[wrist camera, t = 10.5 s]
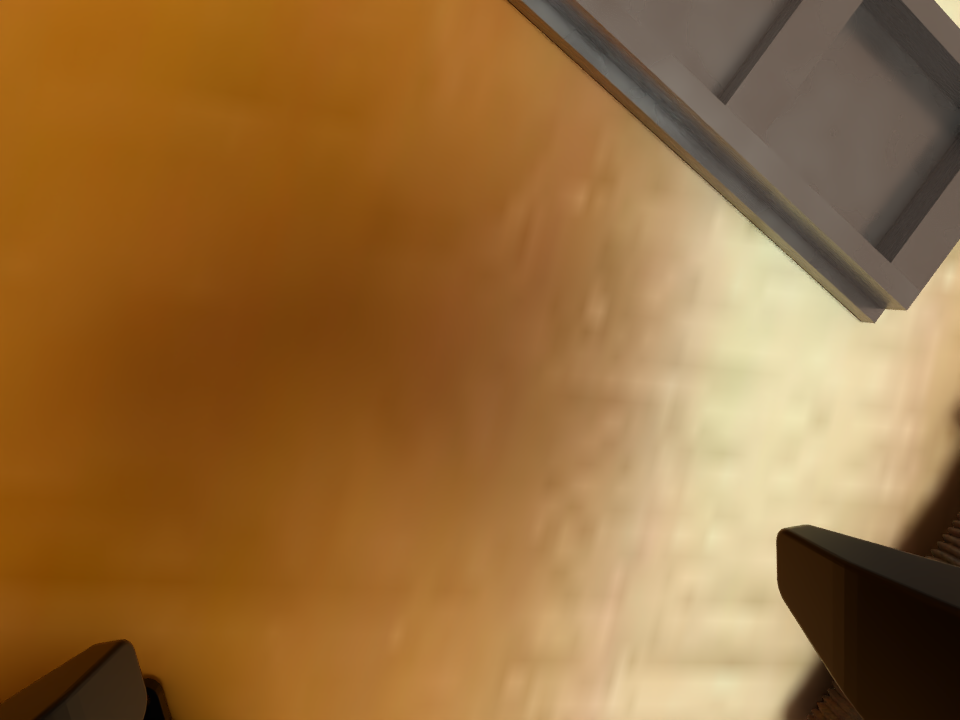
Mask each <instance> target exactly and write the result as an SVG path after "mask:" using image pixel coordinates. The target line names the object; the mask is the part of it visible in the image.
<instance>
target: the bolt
mask: <svg viewBox="0 0 960 720" xmlns="http://www.w3.org/2000/svg"><path fill="white" fill-rule="evenodd" d="M957 519H958V521H957V520H953V521H952V525H953V527H954V528H952V527H949V528H947V529H948V532H949V534H950V535H947V534H943V539H944V541H945V542H940V541H938V542H937V545H938V547H939V549H931V552H932V554H933V557H931V556H926V558H929V559H933V560H936V561H940V562H944V563H947V564H951V565H954V566H958V567H960V513H958V514H957ZM832 683H833V686H834V688H835V689H827V690H828V692H829V694H830V695H822V697H823V700H824V702H817V705H818V708H819V709H812V713H813V715H807V716H806V717H807V720H863V719H862V718H861V716H860V715H859V714H858V713H857V711H856V710H855V709H854V707H853V706H852V705H851V703H850V702H849V700H848V699H847V698H846V696H845V695H844V694H843V692H842V691H841V689H840V688H839V686H838V685H837V683H836V682H832Z"/></svg>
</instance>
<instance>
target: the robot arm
mask: <svg viewBox="0 0 960 720" xmlns="http://www.w3.org/2000/svg"><path fill="white" fill-rule="evenodd" d="M776 549H777V582H778V588H779V591H780V594H781V596H782V598H783V600H784V602H785V603H786V605H787V606H788V608H789V609H790V611H791V613H792V614H793V616H794V617H795V619H796V621H797V622H798V624H799V625H800V627H801V628H802V630H803V632H804V633H805V635H806V636H807V638H808V639H809V641H810V643H811V644H812V646H813V647H814V649H815V651H816V652H817V654H818V655H819V657H820V658H821V660H822V662H823V663H824V665H825V666H826V668H827V670H828V671H829V673H830V674H831V676H832V677H833V679H834V680H835V682H836V683H837V685H838V686H839V688H840V689H841V691H842V692H843V694H844V695H845V696H846V698H847V699H848V700H849V702H850V703H851V705H852V706H853V707H854V709H855V710H856V711H857V713H858V714H859V715H860V716H861V718H862V719H863V720H960V567H958V566H954V565H951V564H947V563H944V562H940V561H936V560H933V559H929V558H926V557H922V556H919V555H915V554H911V553H908V552H904V551H901V550H897V549H894V548H890V547H887V546H883V545H879V544H876V543H872V542H869V541H865V540H862V539H858V538H854V537H851V536H847V535H844V534H840V533H837V532H833V531H830V530H826V529H822V528H819V527H815V526H812V525H800V526H794V527H788V528H783V529H781V530H780V531H779V533H778V535H777V540H776ZM147 695H148V696H149V697H150V699H149V700H147ZM0 720H171V717H170V713H169V710H168V707H167V703H166V700H165V697H164V693H163V690H162V687H161V686H160V684H159V683H158V682H157V681H155V680H153V679H149V678H147V679H143V677H142V674H141V670H140V666H139V663H138V659H137V656H136V652H135V649H134V647H133V645H132V644H131V642H129V641H127V640H125V639H123V640H115V641H109V642H103V643H98V644H95V645H93V646H91V647H89V648H88V649H86V650H85V651H83V652H82V653H80V654H78V655H77V656H75V657H74V658H72V659H70V660H69V661H67V662H66V663H64V664H63V665H61V666H59V667H58V668H56V669H55V670H53V671H52V672H50V673H48V674H47V675H45V676H44V677H42V678H41V679H39V680H37V681H36V682H34V683H33V684H31V685H30V686H28V687H26V688H25V689H23V690H22V691H20V692H18V693H17V694H15V695H14V696H12V697H11V698H9V699H7V700H6V701H4V702H3V703H1V704H0Z"/></svg>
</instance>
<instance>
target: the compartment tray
mask: <svg viewBox="0 0 960 720" xmlns="http://www.w3.org/2000/svg"><path fill="white" fill-rule="evenodd" d="M508 1H509V2H510V3H511V4H513V5H514V6H515V7H516V8H517V9H518V10H519V11H520V12H521V13H522V14H524V15H525V16H526V17H527V18H528V19H529V20H530V21H531V22H532V23H533V24H535V25H536V26H537V27H538V28H539V29H540V30H541V31H542V32H543V33H544V34H546V35H547V36H548V37H549V38H550V39H551V40H552V41H553V42H554V43H555V44H557V45H558V46H559V47H560V48H561V49H562V50H563V51H564V52H565V53H566V54H568V55H569V56H570V57H571V58H572V59H573V60H574V61H575V62H576V63H578V64H579V65H580V66H581V67H582V68H583V69H584V70H585V71H586V72H587V73H589V74H590V75H591V76H592V77H593V78H594V79H595V80H596V81H597V82H598V83H600V84H601V85H602V86H603V87H604V88H605V89H606V90H607V91H608V92H609V93H611V94H612V95H613V96H614V97H615V98H616V99H617V100H618V101H619V102H620V103H622V104H623V105H624V106H625V107H626V108H627V109H628V110H629V111H630V112H631V113H633V114H634V115H635V116H636V117H637V118H638V119H639V120H640V121H641V122H642V123H644V124H645V125H646V126H647V127H648V128H649V129H650V130H651V131H652V132H653V133H655V134H656V135H657V136H658V137H659V138H660V139H661V140H662V141H663V142H664V143H666V144H667V145H668V146H669V147H670V148H671V149H672V150H673V151H674V152H676V153H677V154H678V155H679V156H680V157H681V158H682V159H683V160H684V161H685V162H687V163H688V164H689V165H690V166H691V167H692V168H693V169H694V170H695V171H696V172H698V173H699V174H700V175H701V176H702V177H703V178H704V179H705V180H706V181H707V182H709V183H710V184H711V185H712V186H713V187H714V188H715V189H716V190H717V191H718V192H720V193H721V194H722V195H723V196H724V197H725V198H726V199H727V200H728V201H729V202H731V203H732V204H733V205H734V206H735V207H736V208H737V209H738V210H739V211H740V212H742V213H743V214H744V215H745V216H746V217H747V218H748V219H749V220H750V221H751V222H753V223H754V224H755V225H756V226H757V227H758V228H759V229H760V230H761V231H763V232H764V233H765V234H766V235H767V236H768V237H769V238H770V239H771V240H772V241H774V242H775V243H776V244H777V245H778V246H779V247H780V248H781V249H782V250H783V251H785V252H786V253H787V254H788V255H789V256H790V257H791V258H792V259H793V260H794V261H796V262H797V263H798V264H799V265H800V266H801V267H802V268H803V269H804V270H805V271H807V272H808V273H809V274H810V275H811V276H812V277H813V278H814V279H815V280H816V281H818V282H819V283H820V284H821V285H822V286H823V287H824V288H825V289H826V290H827V291H829V292H830V293H831V294H832V295H833V296H834V297H835V298H836V299H837V300H838V301H840V302H841V303H842V304H843V305H844V306H845V307H846V308H847V309H848V310H849V311H851V312H852V313H853V314H854V315H855V316H856V317H857V318H858V319H859V320H861V321H862V322H868V323H875V322H876V321H877V319H878V318H879V317H880V315H881V314H882V313H883V311H884V310H885V309H892V310H908V308H909V307H910V306H911V304H912V303H913V301H914V300H915V299H916V297H917V296H918V295H919V293H920V292H921V291H922V289H923V288H924V287H925V285H926V284H927V282H928V281H929V280H930V278H931V277H932V276H933V274H934V273H935V272H936V270H937V269H938V268H939V266H940V265H941V263H942V262H943V261H944V259H945V258H946V257H947V255H948V254H949V253H950V251H951V250H952V249H953V247H954V246H955V245H956V243H957V242H958V240H959V239H960V29H959V27H958V26H957V25H956V24H955V23H954V22H953V21H952V20H951V19H950V17H949V16H948V15H947V14H946V13H945V12H944V11H943V10H942V8H941V7H940V6H939V5H938V4H937V3H936V2H935V1H934V0H508Z"/></svg>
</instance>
